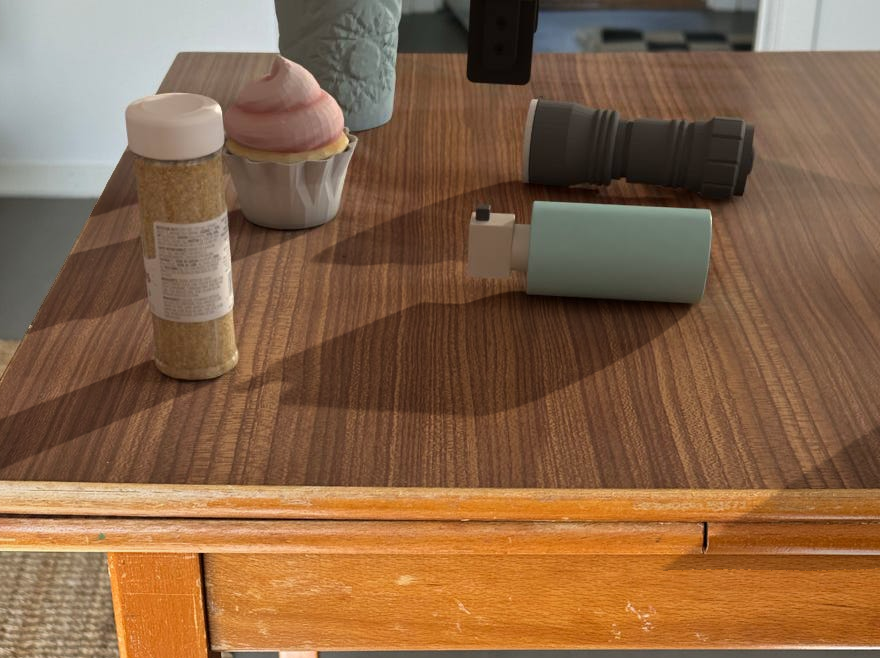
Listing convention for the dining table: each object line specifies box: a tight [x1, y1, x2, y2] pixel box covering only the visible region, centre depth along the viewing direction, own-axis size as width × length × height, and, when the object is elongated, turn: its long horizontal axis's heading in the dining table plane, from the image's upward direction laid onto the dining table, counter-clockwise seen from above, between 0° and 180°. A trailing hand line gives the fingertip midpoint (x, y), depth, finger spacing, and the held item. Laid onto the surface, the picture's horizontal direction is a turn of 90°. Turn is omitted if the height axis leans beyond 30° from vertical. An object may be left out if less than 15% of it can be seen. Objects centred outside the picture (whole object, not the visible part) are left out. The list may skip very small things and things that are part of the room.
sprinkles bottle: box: [124, 92, 240, 381], centre depth 66 cm, size 5×5×14 cm
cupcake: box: [222, 54, 359, 230], centre depth 85 cm, size 9×9×10 cm
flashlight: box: [521, 98, 756, 201], centre depth 90 cm, size 15×5×5 cm, turn 78°
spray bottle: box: [467, 200, 713, 305], centre depth 76 cm, size 14×5×5 cm, turn 83°
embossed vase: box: [273, 0, 403, 133], centre depth 101 cm, size 10×10×12 cm
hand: (503, 56), depth 70 cm, fingers open, 9 cm apart
